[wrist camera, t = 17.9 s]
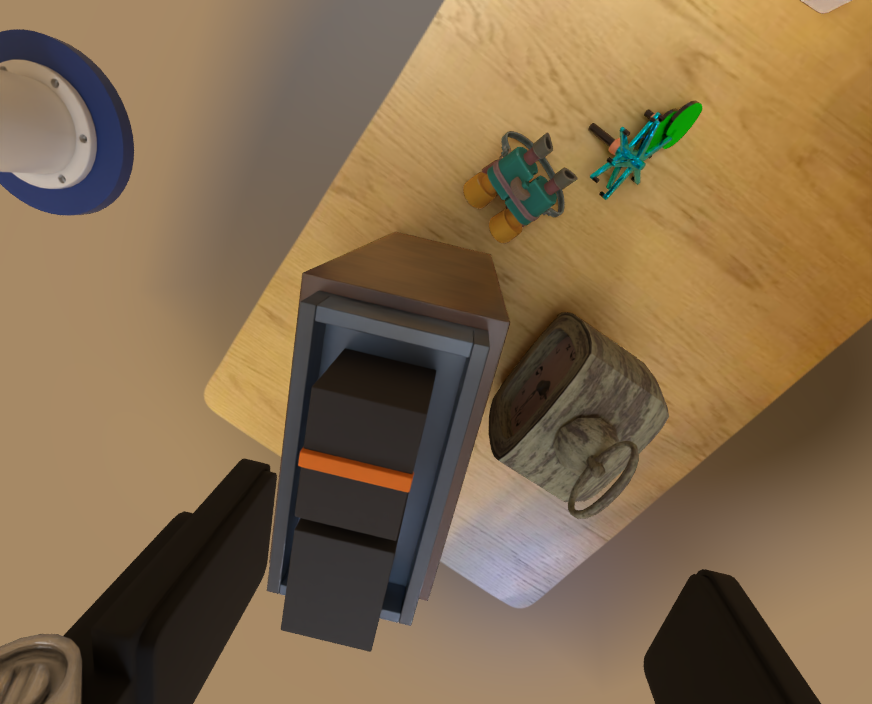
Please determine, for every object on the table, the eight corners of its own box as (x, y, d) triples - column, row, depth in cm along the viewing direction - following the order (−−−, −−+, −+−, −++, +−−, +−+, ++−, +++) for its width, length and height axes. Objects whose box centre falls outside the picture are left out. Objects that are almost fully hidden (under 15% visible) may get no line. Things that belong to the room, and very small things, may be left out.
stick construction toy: (601, 218, 44) (614, 162, 37) (556, 177, 47) (560, 118, 40) (696, 149, 44) (727, 81, 37) (645, 113, 47) (665, 42, 40)
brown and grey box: (366, 389, 56) (250, 596, 27) (395, 231, 49) (281, 281, 20) (450, 409, 56) (423, 638, 27) (491, 254, 49) (514, 337, 20)
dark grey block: (312, 557, 28) (280, 630, 23) (327, 468, 26) (294, 529, 21) (388, 576, 28) (371, 652, 23) (409, 488, 26) (395, 553, 21)
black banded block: (326, 457, 25) (290, 521, 20) (343, 347, 23) (307, 389, 18) (411, 478, 25) (396, 546, 20) (437, 370, 23) (427, 417, 18)
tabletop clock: (560, 295, 50) (638, 385, 26) (622, 338, 51) (750, 462, 27) (486, 389, 54) (494, 538, 31) (544, 427, 55) (595, 598, 32)
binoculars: (490, 150, 47) (445, 182, 41) (559, 88, 40) (519, 114, 34) (539, 221, 49) (504, 262, 43) (613, 173, 42) (585, 213, 36)
